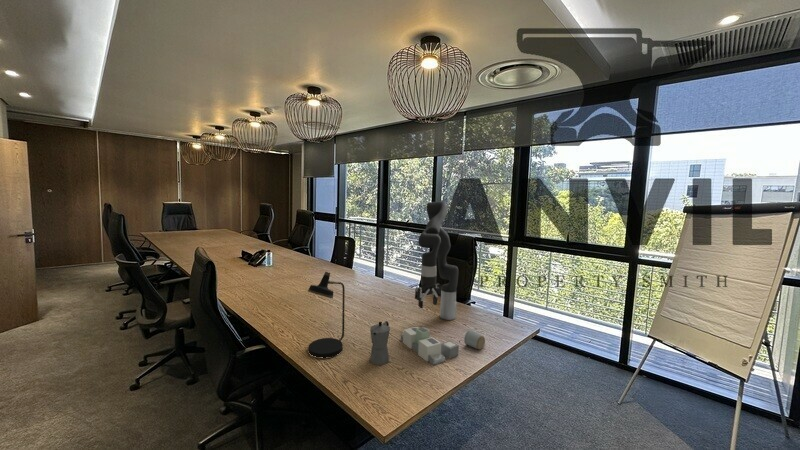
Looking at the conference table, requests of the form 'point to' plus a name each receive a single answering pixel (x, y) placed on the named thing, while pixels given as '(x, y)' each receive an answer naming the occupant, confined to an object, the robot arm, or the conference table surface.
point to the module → (421, 334)
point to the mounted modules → (422, 343)
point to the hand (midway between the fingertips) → (427, 306)
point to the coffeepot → (379, 343)
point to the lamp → (335, 346)
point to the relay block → (449, 349)
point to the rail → (431, 359)
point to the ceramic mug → (474, 339)
